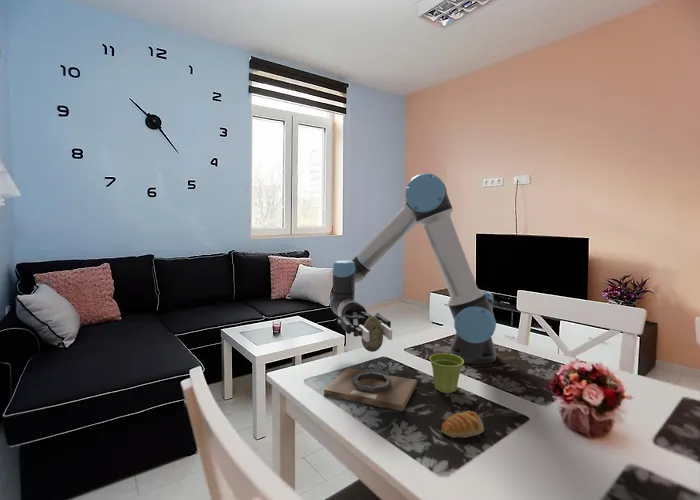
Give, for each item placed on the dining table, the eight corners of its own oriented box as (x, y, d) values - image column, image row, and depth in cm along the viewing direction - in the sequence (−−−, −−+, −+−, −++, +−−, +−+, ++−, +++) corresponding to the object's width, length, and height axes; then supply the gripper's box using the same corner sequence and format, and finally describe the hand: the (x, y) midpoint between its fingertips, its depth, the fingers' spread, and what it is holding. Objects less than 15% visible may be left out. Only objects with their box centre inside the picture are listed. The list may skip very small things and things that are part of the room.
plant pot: (464, 398, 104) (465, 367, 103) (428, 394, 106) (429, 364, 105) (461, 383, 113) (462, 354, 112) (428, 380, 115) (429, 352, 114)
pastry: (453, 444, 84) (454, 427, 83) (434, 428, 90) (434, 413, 89) (486, 434, 88) (486, 418, 87) (465, 419, 94) (465, 404, 94)
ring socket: (394, 380, 111) (394, 375, 111) (383, 395, 102) (383, 390, 102) (361, 374, 115) (361, 369, 115) (348, 388, 106) (348, 383, 105)
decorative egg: (357, 352, 107) (357, 316, 106) (368, 345, 112) (368, 312, 111) (375, 356, 103) (376, 320, 102) (386, 350, 108) (387, 315, 107)
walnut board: (416, 385, 112) (416, 379, 112) (402, 411, 97) (403, 404, 97) (346, 372, 120) (346, 367, 120) (324, 394, 105) (324, 388, 105)
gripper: (379, 322, 127) (411, 346, 105) (323, 327, 121) (345, 353, 99) (379, 300, 126) (412, 319, 104) (323, 303, 121) (345, 324, 99)
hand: (379, 335), depth 102 cm, fingers closed on decorative egg, 6 cm apart
